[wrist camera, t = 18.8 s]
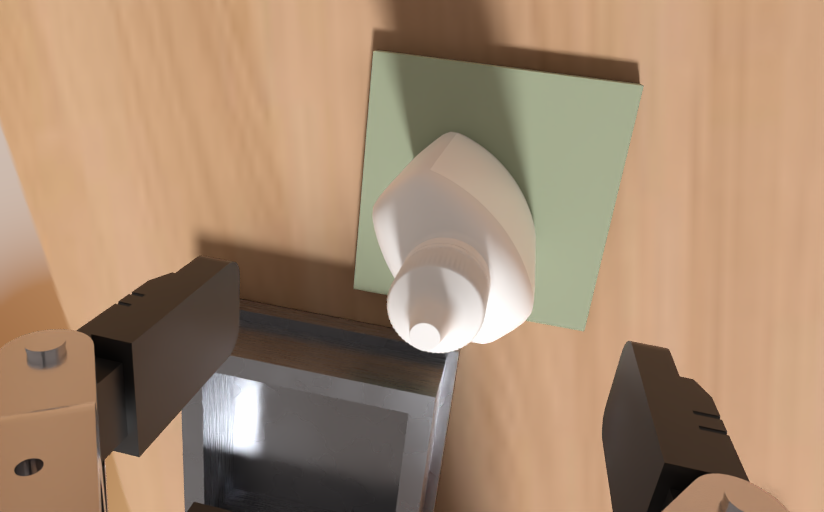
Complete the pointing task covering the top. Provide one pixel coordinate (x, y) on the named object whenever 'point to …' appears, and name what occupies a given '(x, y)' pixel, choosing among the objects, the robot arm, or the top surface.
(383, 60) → the rubber mat
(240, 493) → the socket block
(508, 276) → the eye dropper bottle
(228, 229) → the top surface
